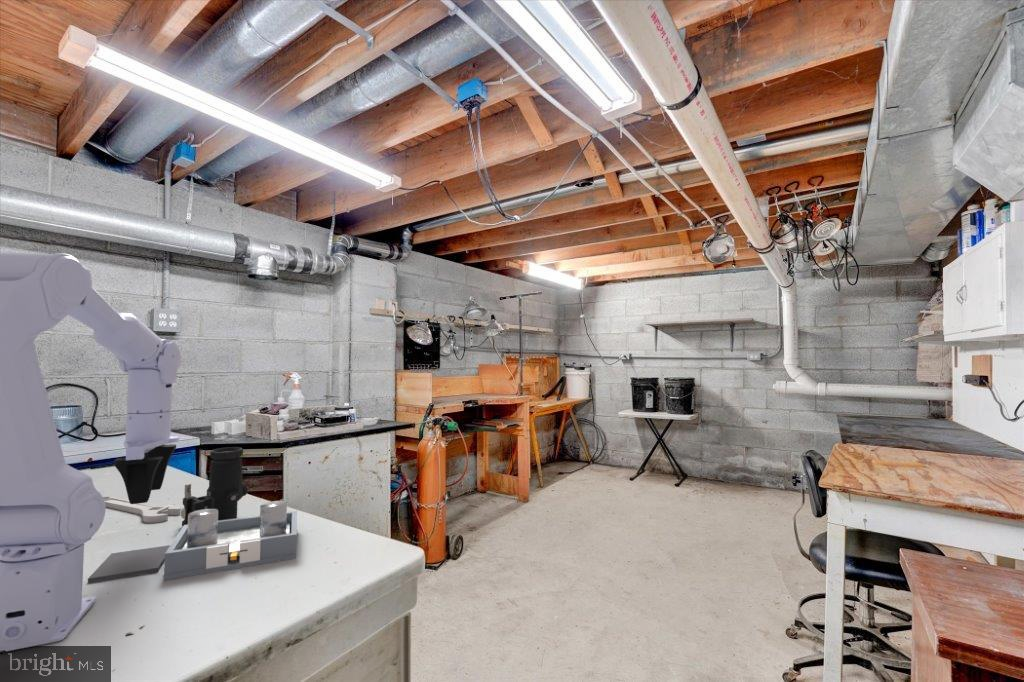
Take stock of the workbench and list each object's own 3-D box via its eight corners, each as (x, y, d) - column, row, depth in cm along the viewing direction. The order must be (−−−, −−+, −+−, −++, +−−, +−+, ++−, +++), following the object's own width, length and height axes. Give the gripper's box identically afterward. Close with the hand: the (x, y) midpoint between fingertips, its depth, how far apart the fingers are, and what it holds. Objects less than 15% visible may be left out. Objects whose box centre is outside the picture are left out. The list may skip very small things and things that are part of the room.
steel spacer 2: (285, 536, 75) (286, 506, 76) (258, 540, 74) (259, 509, 74) (286, 528, 79) (287, 499, 79) (260, 532, 77) (261, 502, 77)
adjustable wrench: (91, 506, 97) (91, 498, 98) (127, 498, 103) (128, 490, 103) (151, 526, 86) (151, 516, 86) (188, 516, 92) (188, 507, 92)
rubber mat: (157, 571, 67) (158, 567, 67) (87, 582, 64) (87, 578, 64) (172, 548, 75) (173, 544, 75) (111, 557, 72) (111, 553, 72)
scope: (182, 452, 86) (238, 444, 94) (179, 526, 85) (236, 511, 93) (199, 457, 81) (257, 449, 89) (196, 536, 80) (255, 520, 89)
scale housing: (296, 558, 72) (296, 535, 72) (163, 580, 65) (164, 554, 65) (296, 529, 84) (296, 510, 84) (183, 545, 76) (184, 524, 76)
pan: (288, 551, 71) (288, 546, 71) (172, 570, 65) (172, 564, 65) (289, 526, 82) (289, 522, 82) (190, 540, 75) (190, 535, 75)
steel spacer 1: (215, 547, 71) (216, 515, 71) (184, 551, 69) (185, 518, 70) (219, 537, 75) (220, 507, 75) (189, 542, 73) (190, 510, 73)
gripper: (168, 415, 69) (165, 505, 68) (188, 406, 82) (185, 481, 81) (109, 418, 66) (105, 512, 65) (139, 408, 79) (136, 486, 78)
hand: (146, 496), depth 73 cm, fingers open, 7 cm apart
